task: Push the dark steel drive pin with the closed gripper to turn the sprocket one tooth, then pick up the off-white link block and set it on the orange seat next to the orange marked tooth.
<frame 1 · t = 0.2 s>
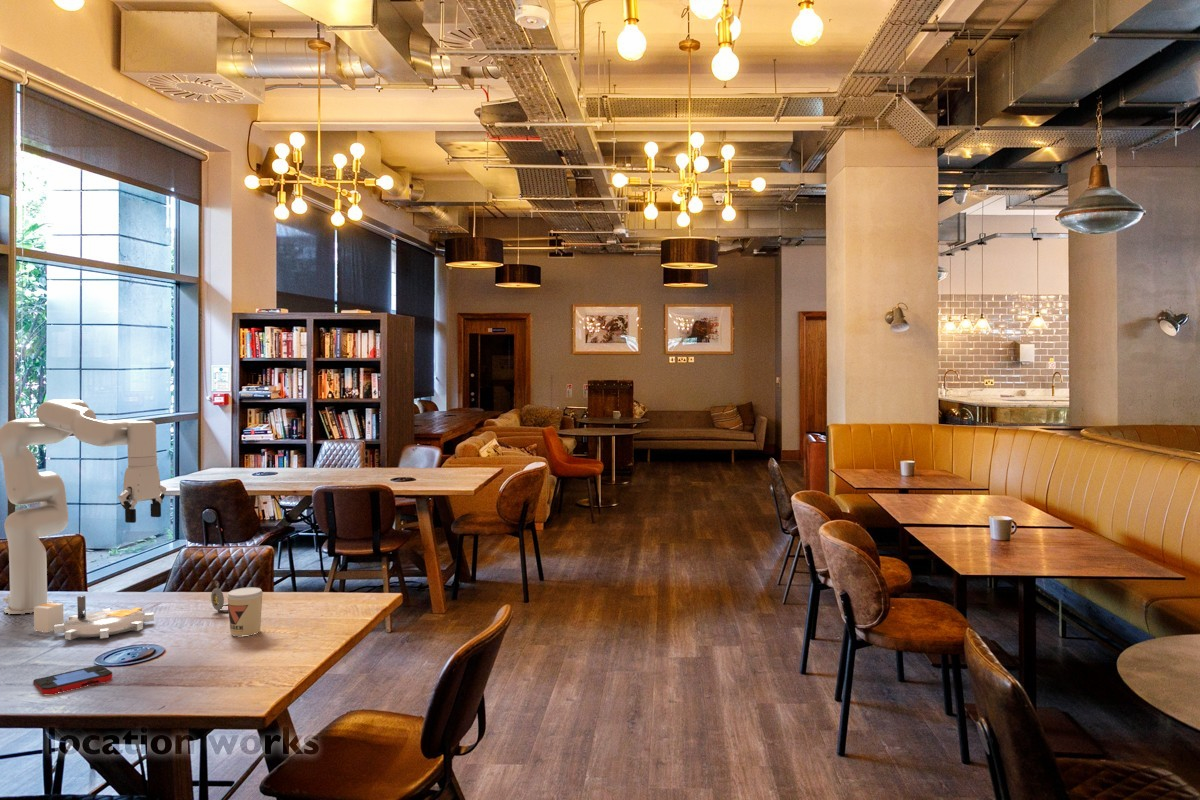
hand: (143, 519, 242), 30 cm above the table, tool pointing down, fingers open, 9 cm apart
sprocket: (105, 612, 235), point 5 cm above the table, hinge at 0.0°
coffee cup: (245, 633, 232), on the table
pocket watch: (225, 611, 254), on the table
link block: (49, 629, 235), on the table
game console: (73, 684, 195), on the table
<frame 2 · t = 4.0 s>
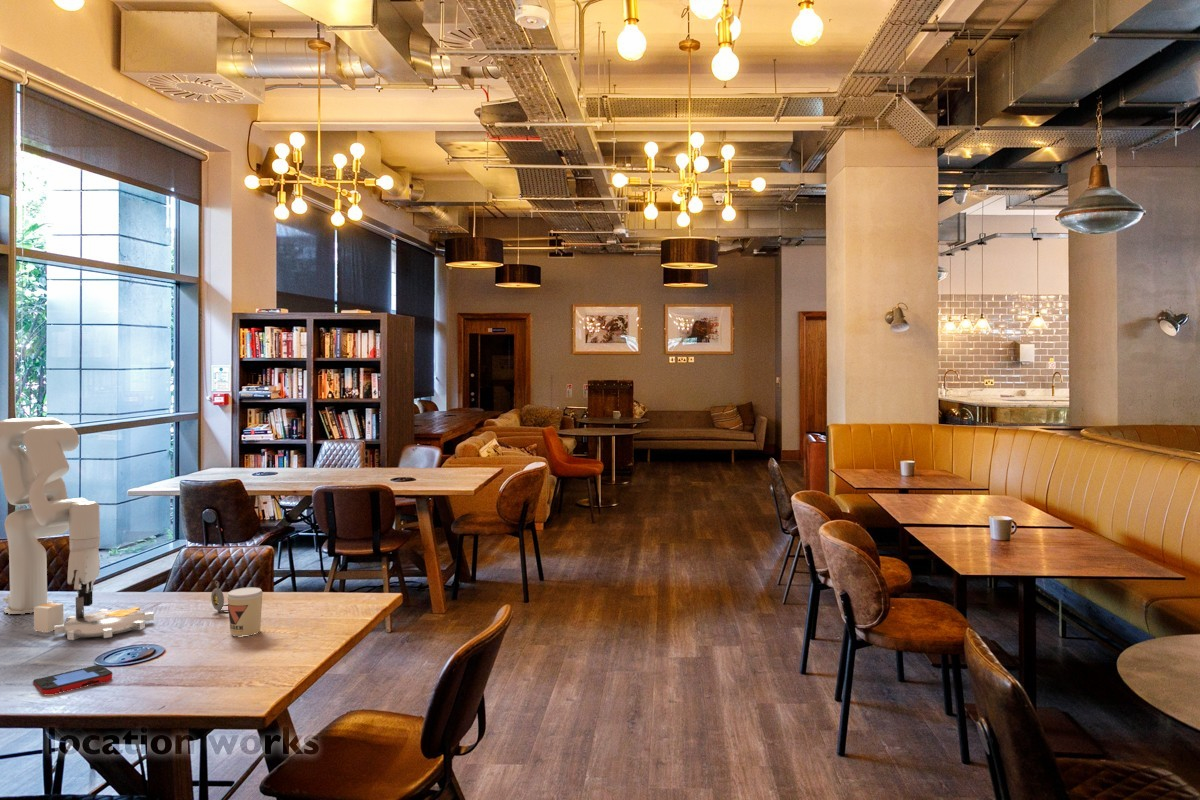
hand: (85, 605, 240), 6 cm above the table, tool pointing down, fingers closed
sprocket: (105, 612, 235), point 5 cm above the table, hinge at 4.1°, touching gripper
everything else where it was.
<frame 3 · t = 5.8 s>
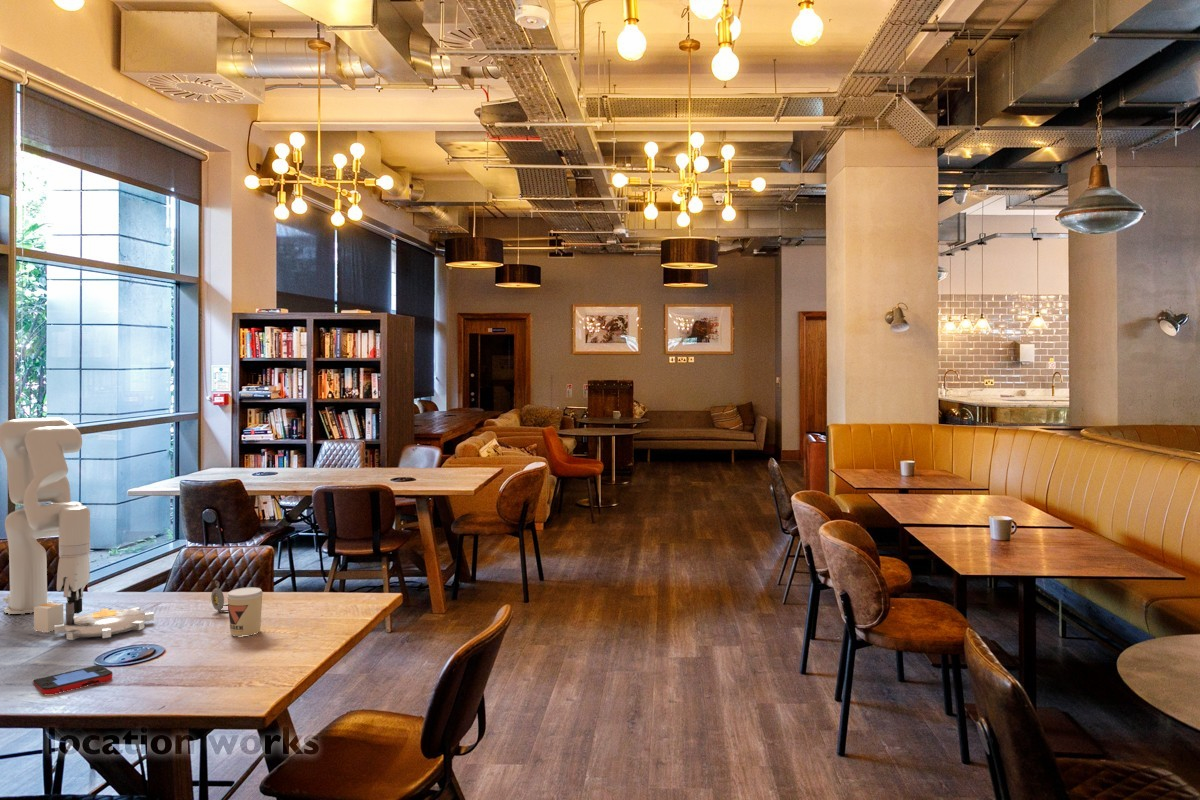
hand: (74, 612, 234), 5 cm above the table, tool pointing down, fingers closed
sprocket: (105, 612, 235), point 5 cm above the table, hinge at 47.7°, touching gripper
everything else where it was.
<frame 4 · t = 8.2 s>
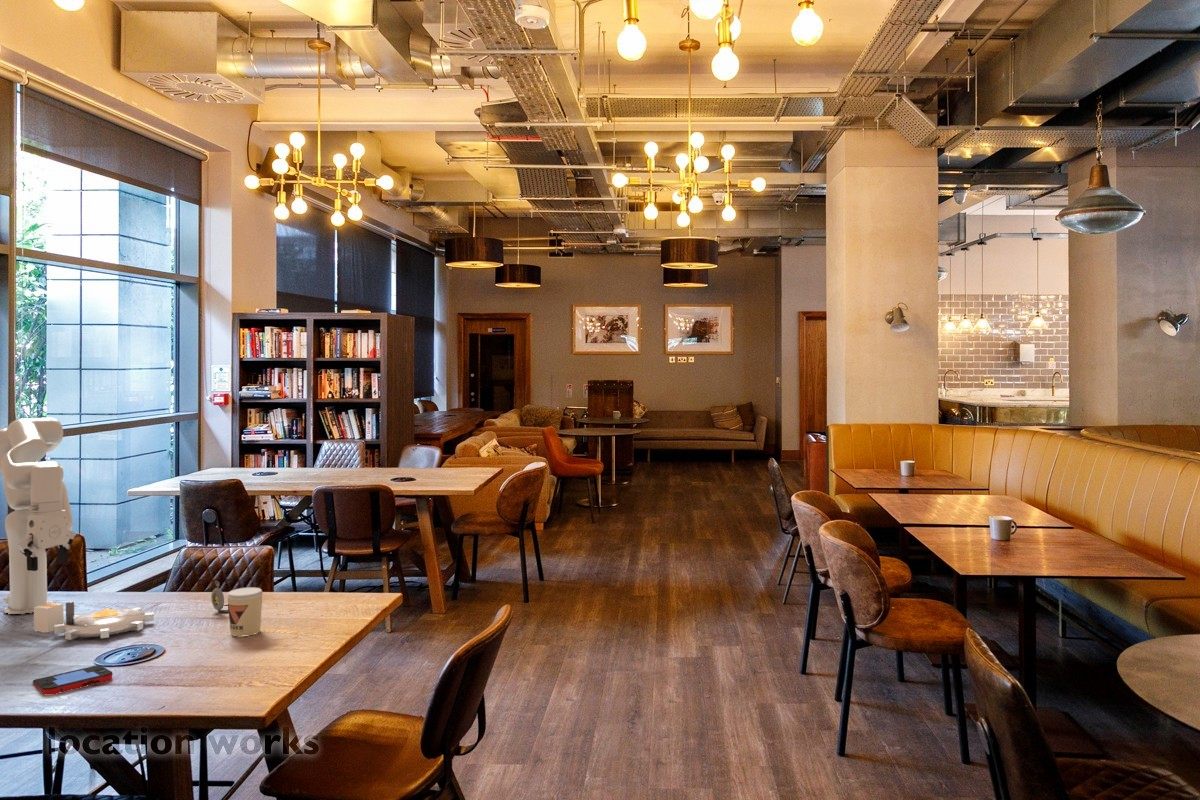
hand: (47, 566, 235), 18 cm above the table, tool pointing down, fingers open, 9 cm apart
sprocket: (105, 612, 235), point 5 cm above the table, hinge at 45.5°
everything else where it was.
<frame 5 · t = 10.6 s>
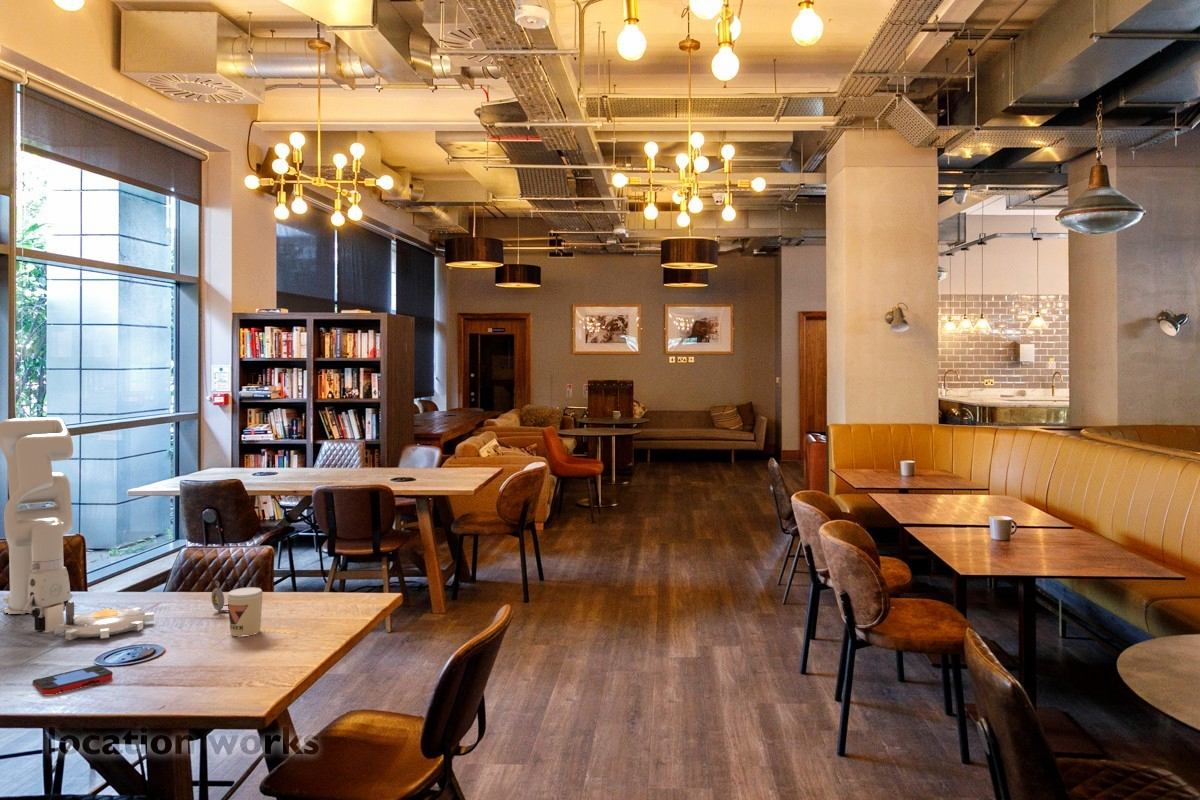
hand: (49, 627, 235), 1 cm above the table, tool pointing down, fingers closed on link block, 5 cm apart
link block: (49, 629, 235), on the table, touching gripper
everything else where it was.
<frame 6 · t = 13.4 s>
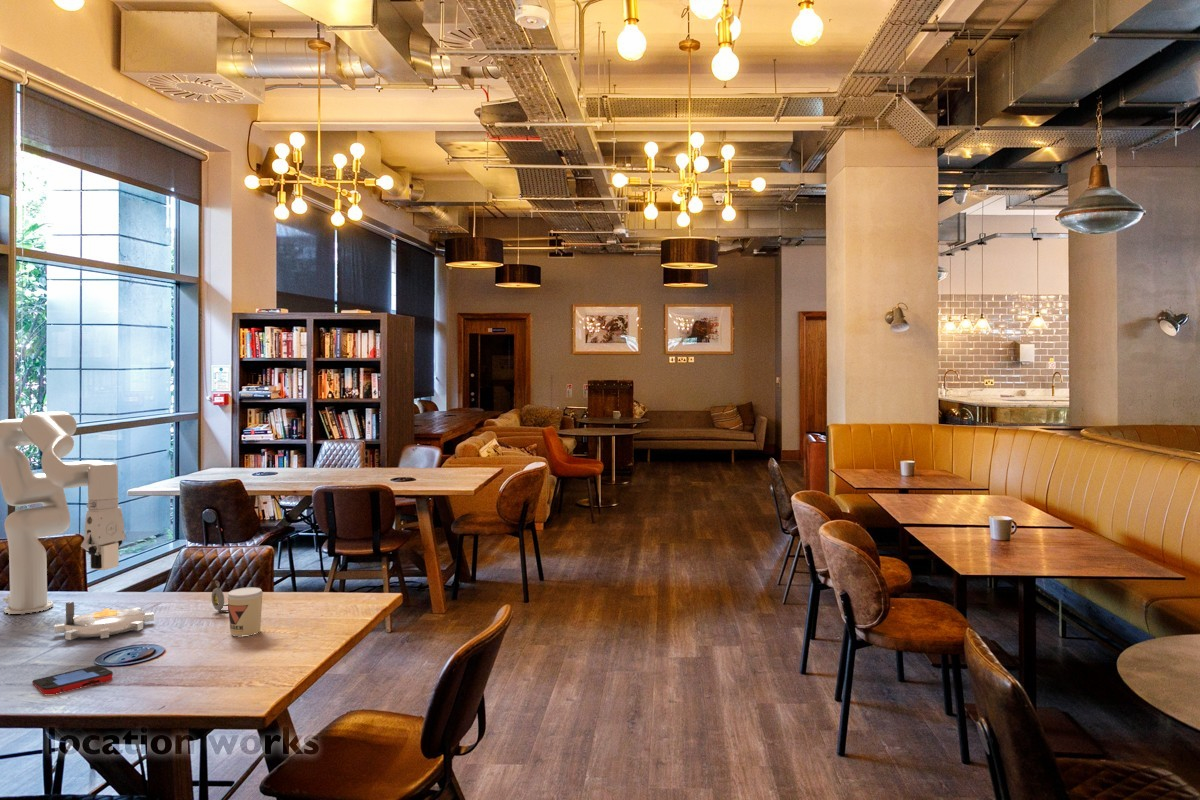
hand: (104, 565, 240), 17 cm above the table, tool pointing down, fingers closed on link block, 4 cm apart
link block: (104, 567, 240), point 17 cm above the table, touching gripper
everything else where it was.
when the fingers open (5 cm above the table, at t = 16.1 s): link block drops 1 cm, resting on sprocket.
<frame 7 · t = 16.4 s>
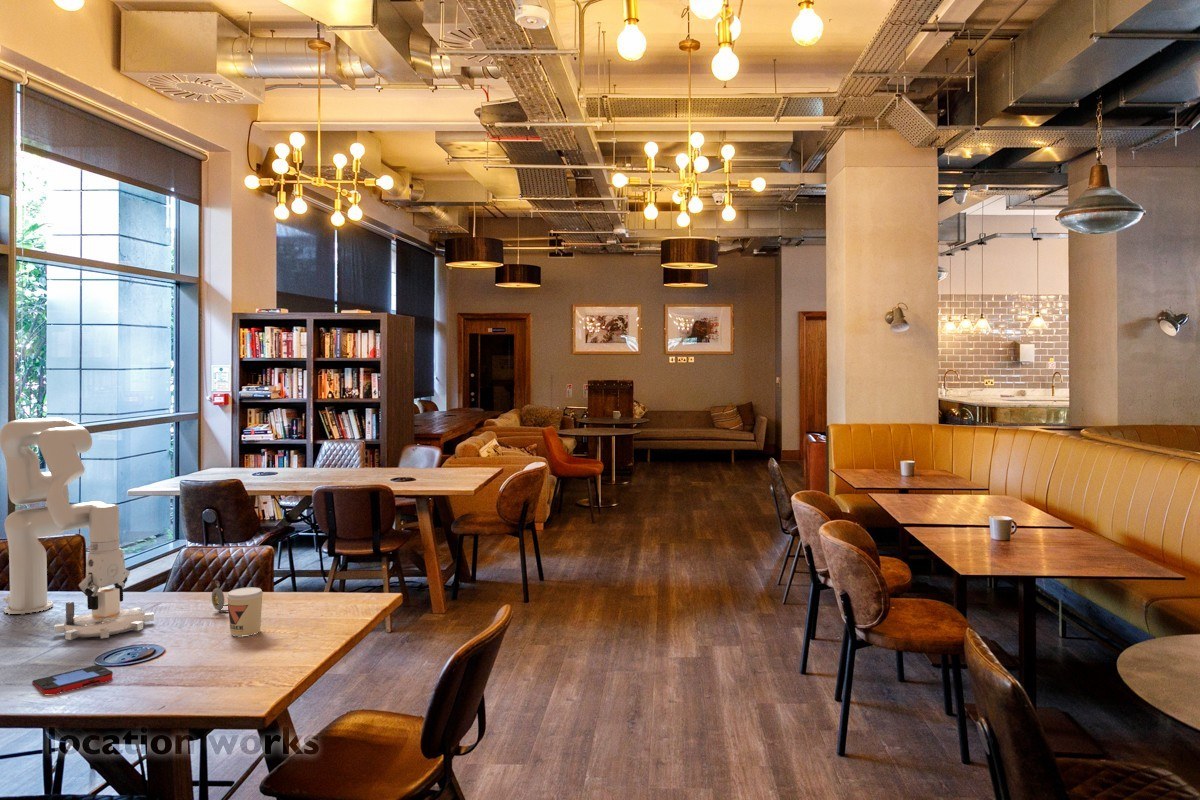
hand: (105, 604, 240), 6 cm above the table, tool pointing down, fingers open, 8 cm apart
sprocket: (105, 612, 235), point 5 cm above the table, hinge at 45.5°, touching link block
link block: (105, 613, 240), point 3 cm above the table, touching sprocket
everything else where it was.
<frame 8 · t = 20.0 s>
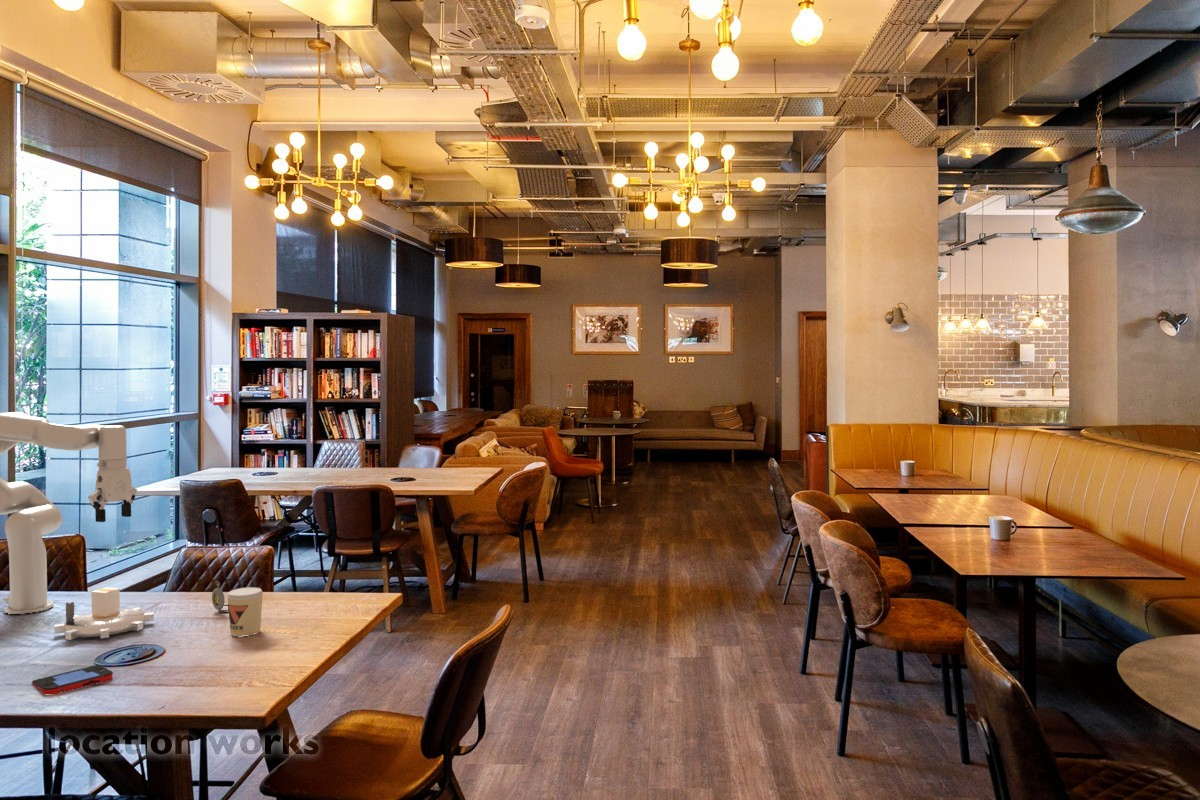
hand: (113, 519, 255), 28 cm above the table, tool pointing down, fingers open, 9 cm apart
nothing on the table moved.
at the end: sprocket at +46° (first picture: +0°); link block 0.1 cm from the target spot on the sprocket, point 3.1 cm above the sprocket's base; link block tilted 0° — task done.
